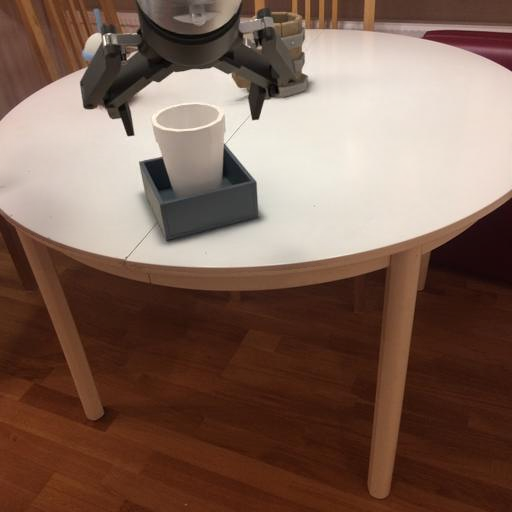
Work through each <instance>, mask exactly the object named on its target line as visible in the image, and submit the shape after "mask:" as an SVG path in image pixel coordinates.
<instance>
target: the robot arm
mask: <svg viewBox="0 0 512 512" xmlns="http://www.w3.org/2000/svg"><path fill="white" fill-rule="evenodd" d="M135 6H136V11H137V18H138V23H139V26H138V28H137V29H136V32H134V33H118V30H117V26H115V24H110V23H107V24H102V27H101V37H102V42H101V44H100V46H99V47H98V49H97V51H96V53H95V55H94V57H93V59H92V60H91V62H90V64H89V65H87V68H86V70H85V71H84V73H83V75H82V77H81V79H80V80H79V88H80V93H81V100H82V107H83V109H84V110H91V111H92V110H95V109H97V108H98V106H103V107H104V109H105V110H106V112H107V115H108V116H109V119H111V120H119V119H121V123H122V125H123V127H124V131H125V133H126V136H127V137H134V136H135V129H134V123H133V116H132V111H131V108H130V104H129V101H130V99H131V98H133V97H134V96H135V95H137V94H138V93H140V92H141V91H142V90H143V89H145V88H146V87H148V86H149V85H150V84H151V83H153V82H155V83H161V82H162V81H164V80H165V79H166V78H168V77H169V76H170V75H172V74H173V73H181V72H182V73H183V72H186V71H191V70H209V69H212V68H215V69H217V70H218V71H220V72H222V73H224V74H226V75H230V74H231V73H232V72H234V73H236V74H238V75H240V76H241V77H243V78H245V79H247V80H249V81H251V85H250V90H248V96H247V100H248V101H247V102H248V106H249V111H250V117H251V121H259V120H260V117H261V114H262V110H263V106H264V103H265V101H270V100H272V99H273V98H278V97H277V96H279V95H280V91H279V85H278V84H280V83H282V82H285V84H286V85H293V84H295V83H297V81H298V80H297V75H296V70H295V65H294V60H293V56H292V55H291V53H290V52H289V50H288V49H287V47H286V46H285V44H284V43H283V41H282V40H281V38H280V37H279V35H278V33H277V32H276V30H275V28H274V23H273V18H272V13H271V12H272V9H270V8H268V7H262V8H260V9H258V10H257V11H256V15H257V19H254V20H251V19H250V20H245V21H241V15H242V8H243V0H135ZM243 39H246V40H247V39H249V40H250V41H251V42H252V43H254V44H255V47H256V49H258V50H260V49H262V53H263V55H264V56H263V55H261V54H259V53H258V52H256V51H254V50H253V49H251V48H250V46H248V45H247V44H246V43H245V44H243V43H242V42H243ZM134 52H135V53H134ZM132 53H133V55H131V54H132ZM130 56H131V57H130ZM128 100H129V101H128Z"/></svg>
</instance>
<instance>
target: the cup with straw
mask: <svg viewBox="0 0 512 512" xmlns="http://www.w3.org/2000/svg"><path fill="white" fill-rule="evenodd" d="M93 12H94V17H95V21H96V27H97V31H98V32H96V33H93V34H92V35H90V36H89V37H88V38H87V40H86V42H85V43H84V48H83V49H82V51H81V56H82V58H83V60H85V61H86V62H87V66H89V64H90V62H91V60H92V59H93V57H94V55H95V53H96V51H97V49H98V47H99V46H100V44H101V42H102V37H101V27H102V26H103V24H102V20H101V14H100V9H99V8H94V9H93ZM129 101H130V99H129V100H128V102H129Z"/></svg>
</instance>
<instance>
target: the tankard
mask: <svg viewBox="0 0 512 512" xmlns="http://www.w3.org/2000/svg"><path fill="white" fill-rule="evenodd" d="M271 13H272V18H273V23H274V28H275V30H276V32H277V33H278V35H279V37H280V38H281V40H282V41H283V43H284V44H285V46H286V47H287V49H288V50H289V52H290V53H291V55H292V56H293V60H294V65H295V70H296V75H297V80H298V81H297V83H295V84H293V85H286V84H285V82H282V83H280V84H278V85H279V91H280V95H279V96H277V97H276V98H286V97H289V96H293V95H296V94H297V95H298V94H300V93H303V92H305V90H306V88H307V86H308V83H309V76H308V75H307V74H305V73H303V68H304V65H305V62H306V52H304V51H303V44H304V42H305V41H306V28H305V27H303V16H302V15H301V14H298V13H294V12H290V11H271ZM254 19H257V14H254V15H253V16H252V17H251V18H250V20H254ZM242 43H243V44H245V45H246V46H248V47H249V48H251V49H253V50H254V51H256V52H258V53H259V54H261V55H263V53H262V49H260V50H258V49H256V47H255V44H254V43H252V42H251V41H250V40H249V39H243V42H242ZM263 56H264V55H263ZM230 74H231V78H232V80H233V82H234V83H235V85H236V86H237V88H238V89H246V91H249V90H250V85H251V81H249V80H247V79H245V78H243V77H241V76H240V75H238V74H236V73H234V72H232V73H230Z"/></svg>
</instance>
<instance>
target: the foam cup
mask: <svg viewBox="0 0 512 512" xmlns="http://www.w3.org/2000/svg"><path fill="white" fill-rule="evenodd" d="M150 121H151V125H152V132H153V136H154V140H155V142H156V143H157V144H158V147H159V150H160V154H161V157H163V160H164V163H165V167H166V170H167V173H168V176H169V179H170V182H171V186H172V189H173V192H174V195H175V198H176V199H177V198H181V197H185V196H190V195H194V194H198V193H202V192H207V191H211V190H215V189H219V188H222V173H223V150H224V143H225V133H226V131H227V129H226V127H227V126H226V115H225V112H224V111H223V109H222V108H221V107H219V106H217V105H214V104H212V103H204V102H183V103H178V104H174V105H170V106H166V107H165V108H162V109H160V110H158V111H156V112H155V113H154V115H153V116H152V117H151V120H150Z"/></svg>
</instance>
